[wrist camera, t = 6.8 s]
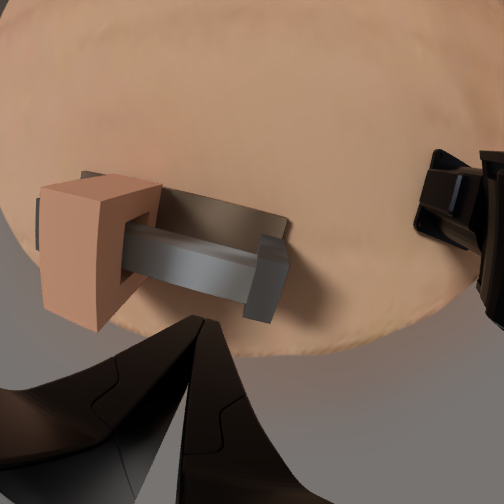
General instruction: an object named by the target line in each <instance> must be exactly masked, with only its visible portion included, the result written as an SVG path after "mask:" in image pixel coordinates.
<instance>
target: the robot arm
mask: <svg viewBox="0 0 504 504" xmlns="http://www.w3.org/2000/svg"><path fill="white" fill-rule="evenodd" d="M479 152H480V159H481V160H482V169H478V168H471V167H470V166H468V165H467V164H465V163H464V162H462V161H460V160H459V159H457V158H455V157H454V156H452V155H450V154H449V153H447V152H445V151H443V150H441V149H436V150H434V152H433V155H432V160H431V164H430V168H429V170H428V171H427V175H426V179H425V182H424V186H423V190H422V193H421V196H420V200H419V201H420V204H419V207H418V210H417V213H416V216H415V220H414V223H413V225H414V228H415V229H416V230H418V231H420V232H422V233H425V234H427V235H430V236H432V237H435V238H437V239H440V240H442V241H445V242H447V243H449V244H452V245H454V246H456V247H459V248H461V249H463V250H466V251H467V250H469V249H470V250H471V251H473V252H475V253H477V254H478V255H480V256H481V265H480V274H479V279H478V280H477V285H476V288H477V290H478V292H479V293H480V297H481V299H482V301H483V303H484V305H485V307H486V311H485V312H486V315H487V316H488V317H489V318H490V319H491V320H492V321H493V322H494V323H495V324H496V325H498V326H499V327H500V328H501V329H502V330H503V331H504V151H479ZM439 153H440V158H439V157H438V154H439ZM419 222H421V226H420V227H419V226H418V225H419ZM188 383H189V384H188ZM187 386H188V391H187V399H186V406H185V414H184V422H183V430H182V440H181V448H180V459H179V468H178V479H177V491H176V503H175V504H334V503H332V502H330V501H327V500H326V499H323V498H321V497H319V496H317V495H316V494H314V493H312V492H310V491H309V490H308V489H306V488H305V487H304V486H303V485H302V484H301V483H299V481H298V480H297V479H296V478H295V477H294V475H293V474H292V472H291V471H290V470H289V468H288V467H287V465H286V464H285V462H284V461H283V459H282V458H281V456H280V455H279V453H278V452H277V450H276V449H275V447H274V446H273V444H272V443H271V441H270V440H269V438H268V437H267V435H266V433H265V432H264V430H263V428H262V426H261V425H260V423H259V421H258V419H257V417H256V415H255V413H254V410H253V408H252V406H251V404H250V401H249V399H248V397H247V394H246V392H245V389H244V387H243V384H242V382H241V379H240V377H239V374H238V371H237V369H236V366H235V364H234V361H233V358H232V356H231V353H230V351H229V348H228V345H227V343H226V340H225V337H224V334H223V332H222V329H221V326H220V323H219V322H218V321H214V320H211V319H204V318H203V317H199V316H196V315H190V316H188V317H186V318H185V319H183V320H181V321H179V322H177V323H175V324H173V325H172V326H170V327H168V328H166V329H164V330H162V331H160V332H159V333H157V334H155V335H153V336H151V337H149V338H147V339H146V340H144V341H142V342H140V343H138V344H136V345H134V346H132V347H130V348H128V349H127V350H124V351H122V352H120V353H119V354H117V355H115V356H114V357H111V358H109V359H107V360H105V361H103V362H101V363H99V364H96V365H94V366H92V367H90V368H88V369H85V370H83V371H80V372H77V373H75V374H72V375H70V376H67V377H64V378H61V379H58V380H55V381H52V382H49V383H46V384H43V385H40V386H37V387H34V388H30V389H27V390H6V389H2V388H0V504H134V503H135V500H136V498H137V496H138V493H139V491H140V489H141V487H142V485H143V483H144V481H145V478H146V476H147V474H148V472H149V469H150V467H151V465H152V463H153V461H154V459H155V456H156V454H157V452H158V450H159V448H160V445H161V443H162V441H163V439H164V437H165V435H166V432H167V430H168V428H169V426H170V424H171V422H172V419H173V417H174V415H175V413H176V411H177V409H178V406H179V404H180V402H181V400H182V398H183V395H184V393H185V391H186V389H187Z"/></svg>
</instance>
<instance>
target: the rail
mask: <svg viewBox="0 0 504 504" xmlns="http://www.w3.org/2000/svg"><path fill="white" fill-rule="evenodd" d="M97 176H104V174H99V173H94V172H89V171H81V179H85V178H91V177H97ZM39 207H40V198H37V199H36V250H38V251H39ZM287 220H288V219H287V218H286V217H283V216H279V215H275V214H272V213H268V212H264V211H260V210H257V209H253V208H249V207H245V206H241V205H237V204H233V203H229V202H225V201H221V200H217V199H213V198H209V197H205V196H201V195H197V194H193V193H188V192H184V191H180V190H175V189H171V188H166V187H162V190H161V195H160V201H159V206H158V212H157V218H156V225H155V228H154V227H150V226H147V225H143V224H139V223H135V222H131V221H128V222H125V230H124V239H123V250H122V263H121V268H122V269H125V270H129V271H132V272H135V273H138V274H141V275H145V276H148V277H151V278H154V279H158V280H161V281H164V282H168V283H171V284H174V285H178V286H181V287H185V288H188V289H192V290H195V291H199V292H203V293H206V294H210V295H214V296H217V297H221V298H225V299H229V300H232V301H236V302H240V303H244V304H245V305H244V311H243V317H244V318H248V319H252V320H256V321H260V322H265V323H269V324H270V323H271V321H272V318H273V315H274V312H275V309H276V306H277V303H278V300H279V297H280V294H281V291H282V288H283V285H284V282H285V279H286V276H287V273H288V270H289V267H290V264H289V259H288V254H287V249H286V244H285V239H284V238H283V233H284V230H285V227H286V223H287Z"/></svg>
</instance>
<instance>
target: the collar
mask: <svg viewBox="0 0 504 504" xmlns="http://www.w3.org/2000/svg"><path fill="white" fill-rule="evenodd" d="M162 185H163V184H159V183H155V182H150V181H145V180H141V179H136V178H131V177H126V176H121V175H116V174H111V175H104V176H97V177H91V178H85V179H79V180H74V181H68V182H63V183H58V184H53V185H48V186H44V187H41V190H40V207H39V256H40V273H41V284H42V293H43V302H44V308H45V309H47V310H49V311H51V312H53V313H55V314H57V315H59V316H61V317H63V318H65V319H67V320H69V321H71V322H74V323H76V324H78V325H80V326H82V327H85V328H87V329H89V330H92V331H94V332H96V333H98V332H99V330H100V329H101V328H102V327H103V326H104V325H105V324H106V323H107V322H108V320H109V319H110V318H111V317H112V316H113V315H114V314H115V313H116V312H117V310H118V309H119V308H120V307H121V306H122V305H123V304H124V303H125V302H126V301H127V300H128V298H129V297H130V296H131V295H132V294H133V293H134V292H135V291H136V290H137V289H138V288H139V287H140V286H141V285H142V284H143V282H144V281H145V280H146V279H147V278H148V276H145V275H141V274H138V273H135V272H132V271H129V270H125V269H122V268H121V263H122V250H123V239H124V230H125V222H128V221H131V222H135V223H139V224H143V225H147V226H150V227H154V228H155V225H156V218H157V212H158V206H159V201H160V195H161V190H162Z"/></svg>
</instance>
